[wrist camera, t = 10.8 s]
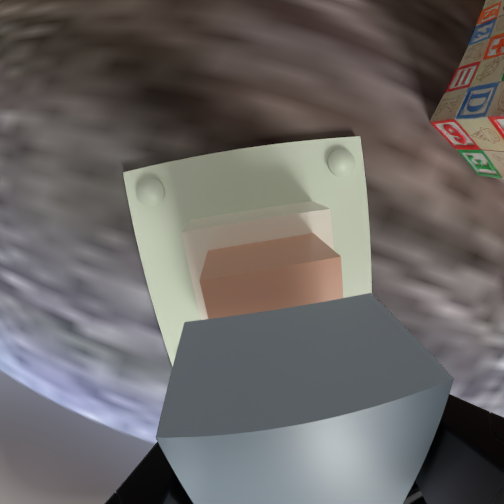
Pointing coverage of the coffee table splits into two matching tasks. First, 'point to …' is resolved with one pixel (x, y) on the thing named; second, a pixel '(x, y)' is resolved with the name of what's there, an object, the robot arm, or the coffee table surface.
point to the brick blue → (302, 406)
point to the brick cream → (251, 233)
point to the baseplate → (242, 199)
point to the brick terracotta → (270, 276)
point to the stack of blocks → (478, 97)
